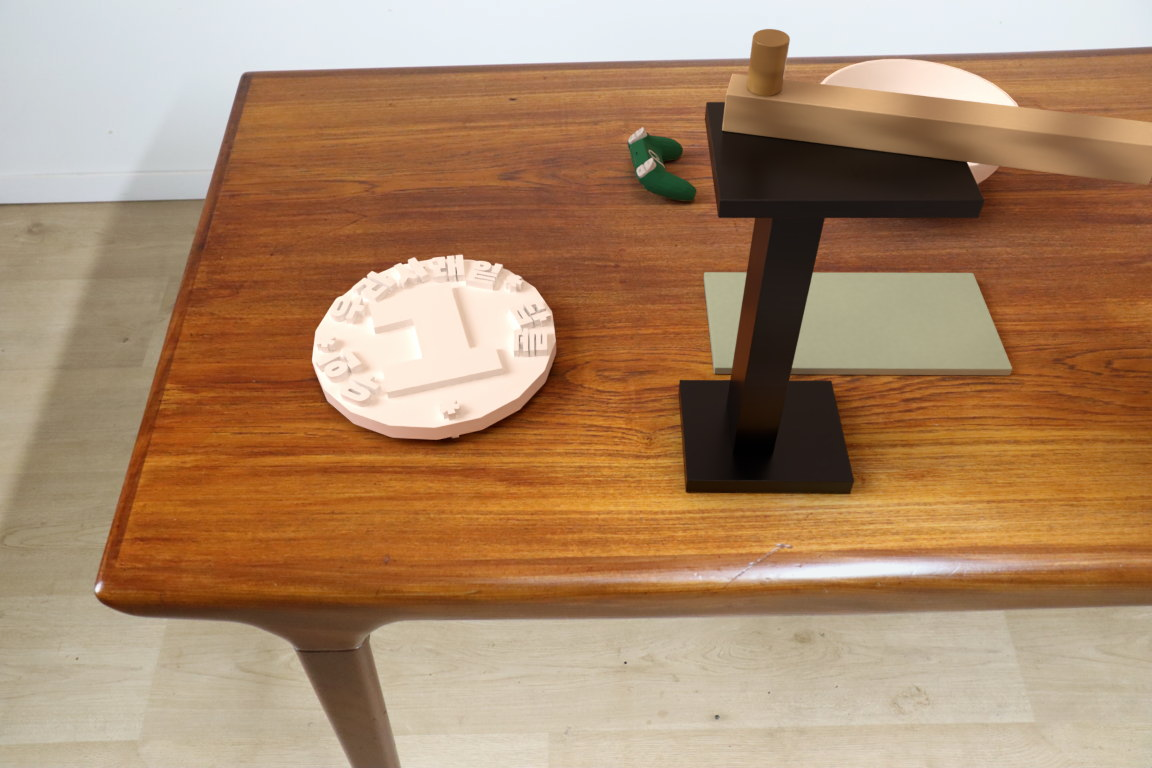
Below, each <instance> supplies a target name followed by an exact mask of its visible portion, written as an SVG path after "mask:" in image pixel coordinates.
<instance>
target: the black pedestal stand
mask: <svg viewBox="0 0 1152 768" xmlns="http://www.w3.org/2000/svg"><path fill="white" fill-rule="evenodd" d="M724 108H725V101H706V103H705V112H704V123H705V131H706V139H707V145H708V154H709V161H710V168H711V175H712V176H711V177H712V181H713V191H714V198H715V204H716V205H715V206H716V213H717V217H718V218H719V219H754V222H753V228H752V229H753V230H752V236H751V243H750V248H749V255H748V262H747V268H746V272H747V274H746V281H745V287H744V294H743V300H742V307H741V313H740V320H739V326H738V333H737V339H736V346H735V353H734V359H733V366H732V372H731V374H730V379H679V381H678V382H679V383H678V391H677V393H678V406H679V419H680V430H681V431H680V433H681V446H682V462H683V473H684V475H683V477H684V487H685V493H692V494H693V493H695V494H696V493H699V494H700V493H701V494H705V493H707V494H708V493H709V494H710V493H711V494H715V493H716V494H721V493H722V494H823V495H824V494H826V495H828V494H829V495H831V494H834V495H835V494H836V495H846V494H847V495H850V494H851V493H852V489H853V486H854V483H855V479H854V475H853V469H852V465H851V461H850V457H849V452H848V447H847V444H846V439H845V435H844V431H843V425H842V421H841V417H840V412H839V408H838V404H837V399H836V395H835V391H834V385H833V381H832V380H791V375H792V374H791V370H792V366H793V361H794V357H795V352H796V347H797V343H798V338H799V334H800V329H801V325H802V320H803V315H804V311H805V306H806V302H807V297H808V293H809V288H810V283H811V279H812V274H813V273H814V271H815V270H814V269H815V264H816V261H817V256H818V253H819V252H818V251H819V246H820V242H821V238H822V233H823V228H824V223H825V220H826V219H979V218H980V215H981V212H982V209H983V206H984V203H985V202H986V201H985V198H984V196H983V194H982V191H981V189H980V187H979V184H978V185H977V183H976V180H975V178H974V176H973V174H972V172H971V170H970V167H969V165H968V163H967V162H962V161H954V160H946V159H939V158H931V157H923V156H915V155H907V154H899V153H891V152H884V151H876V150H868V149H860V148H852V147H844V146H837V145H829V144H821V143H813V142H805V141H797V140H790V139H782V138H774V137H766V136H758V135H750V134H743V133H735V132H727V131H722V125H723V117H724Z"/></svg>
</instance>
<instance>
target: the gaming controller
mask: <svg viewBox="0 0 1152 768" xmlns="http://www.w3.org/2000/svg"><path fill="white" fill-rule="evenodd" d="M645 129H646V128H645V127H643V126H642V127H640V128H639V129H637V130H636V131H635V132H634V133H632V134H631V135H630V136H629V138H628V140H627V148H628V150H629V154H630V158H631V162H632V165H633V168H634V173H635V176H636V178H637V180H638V182H639V183H640V185H642V187H643V188H644V189H645V190H646V191H648V192H651V193H652V194H654V195H657V196H660V197H662V198H665V199H670V200H675V201H679V202H680V201H681V202H694V201H695V198H696V194H697V190H698V189H697V188H696V187H695V185H693V184H692V183H691V182H689V181H688V180H686V179H684V178H682V177H680V176H678V175H676V174H674V173H672V172H669V171H667V170H666V166H665V163H664V162H665V161H674V160H678V159H679V158H680V157H681V156H682V155H683V153H684V147H683V146H682V145H681V143H679V142H678V141H677V140H676V139H673V138H671V137H666V136H661V135H650V134H649V132H647V131H646V130H645Z"/></svg>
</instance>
